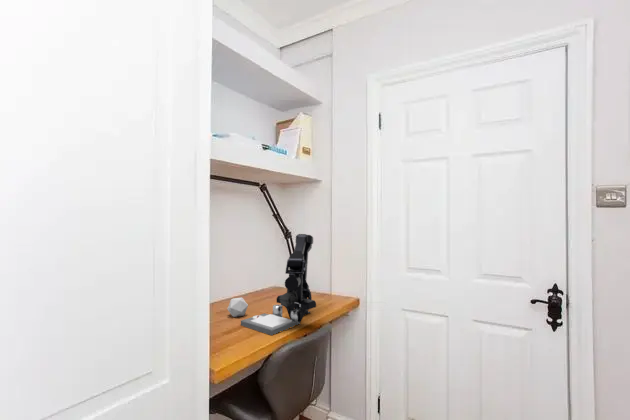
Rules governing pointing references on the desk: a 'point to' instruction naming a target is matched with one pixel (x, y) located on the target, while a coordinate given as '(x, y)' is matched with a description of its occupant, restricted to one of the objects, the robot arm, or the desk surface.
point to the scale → (267, 323)
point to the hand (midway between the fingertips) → (295, 321)
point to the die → (237, 307)
